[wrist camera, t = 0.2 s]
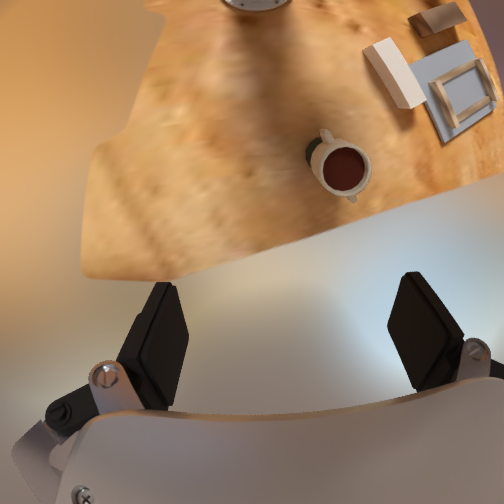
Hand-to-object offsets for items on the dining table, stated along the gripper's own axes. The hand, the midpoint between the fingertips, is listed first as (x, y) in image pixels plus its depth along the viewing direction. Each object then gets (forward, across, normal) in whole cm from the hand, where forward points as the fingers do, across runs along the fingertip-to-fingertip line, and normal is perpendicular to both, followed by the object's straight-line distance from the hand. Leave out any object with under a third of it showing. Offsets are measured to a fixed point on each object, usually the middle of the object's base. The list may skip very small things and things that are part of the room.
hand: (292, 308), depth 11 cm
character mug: (+37, -10, 0) cm, 38 cm away
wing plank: (+37, -22, -16) cm, 46 cm away
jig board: (+37, -38, -17) cm, 56 cm away
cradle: (+36, -39, -17) cm, 56 cm away
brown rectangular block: (+37, -34, -31) cm, 59 cm away
